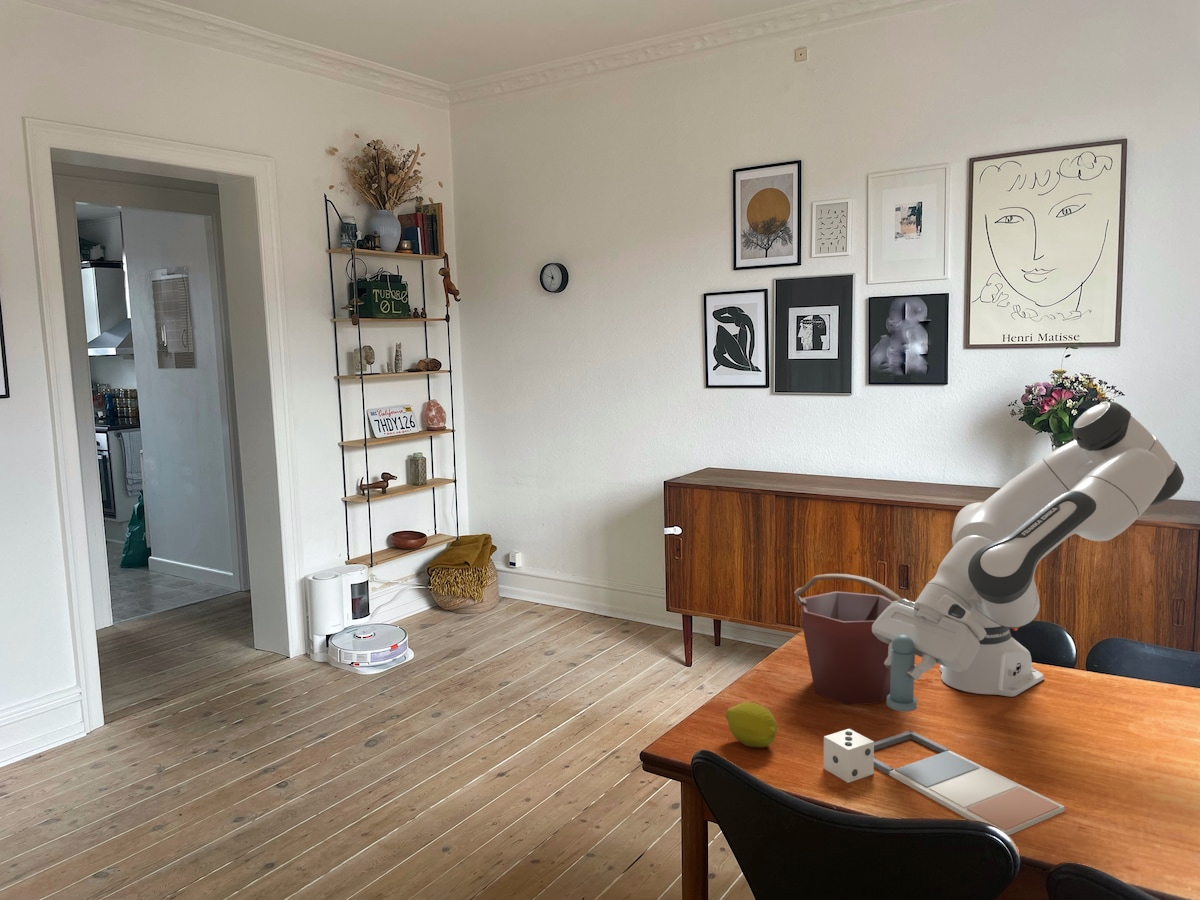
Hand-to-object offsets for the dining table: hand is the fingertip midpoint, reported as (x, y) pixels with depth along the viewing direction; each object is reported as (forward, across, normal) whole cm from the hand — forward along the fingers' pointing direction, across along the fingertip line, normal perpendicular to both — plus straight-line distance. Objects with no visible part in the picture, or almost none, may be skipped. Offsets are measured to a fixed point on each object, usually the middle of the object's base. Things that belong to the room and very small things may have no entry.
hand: (900, 672), depth 157 cm
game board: (+10, +12, +12) cm, 20 cm away
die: (+20, 0, +3) cm, 20 cm away
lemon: (+26, -17, -2) cm, 31 cm away
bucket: (+1, -28, +22) cm, 35 cm away
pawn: (+4, 0, +5) cm, 6 cm away
